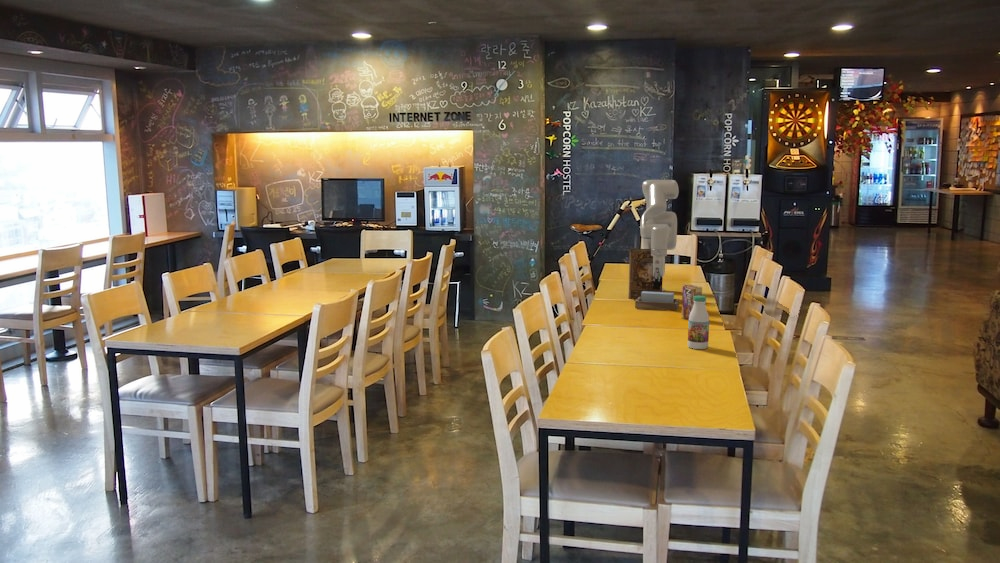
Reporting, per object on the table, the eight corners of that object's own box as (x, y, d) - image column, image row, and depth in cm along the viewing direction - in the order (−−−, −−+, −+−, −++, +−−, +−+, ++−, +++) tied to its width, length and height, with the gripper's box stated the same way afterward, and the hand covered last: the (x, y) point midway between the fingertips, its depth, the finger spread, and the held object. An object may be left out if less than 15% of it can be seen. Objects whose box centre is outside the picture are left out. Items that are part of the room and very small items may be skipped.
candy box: (701, 321, 351) (703, 287, 348) (693, 321, 349) (695, 287, 346) (688, 317, 359) (689, 283, 356) (680, 318, 357) (682, 284, 354)
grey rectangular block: (673, 302, 381) (674, 292, 380) (672, 304, 376) (673, 294, 375) (642, 300, 385) (642, 291, 384) (640, 302, 380) (641, 293, 379)
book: (628, 299, 401) (630, 250, 397) (628, 297, 406) (629, 248, 402) (661, 299, 399) (663, 250, 395) (660, 297, 405) (662, 249, 401)
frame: (638, 303, 389) (638, 296, 389) (678, 305, 384) (679, 298, 383) (635, 308, 378) (635, 301, 377) (676, 311, 372) (676, 303, 371)
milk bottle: (684, 345, 309) (686, 294, 305) (704, 344, 309) (706, 294, 306) (691, 350, 301) (693, 298, 298) (711, 349, 302) (713, 298, 298)
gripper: (665, 255, 367) (663, 291, 371) (668, 249, 383) (667, 284, 387) (648, 254, 369) (647, 290, 373) (653, 249, 386) (651, 283, 389)
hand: (657, 287), depth 380 cm, fingers open, 9 cm apart
